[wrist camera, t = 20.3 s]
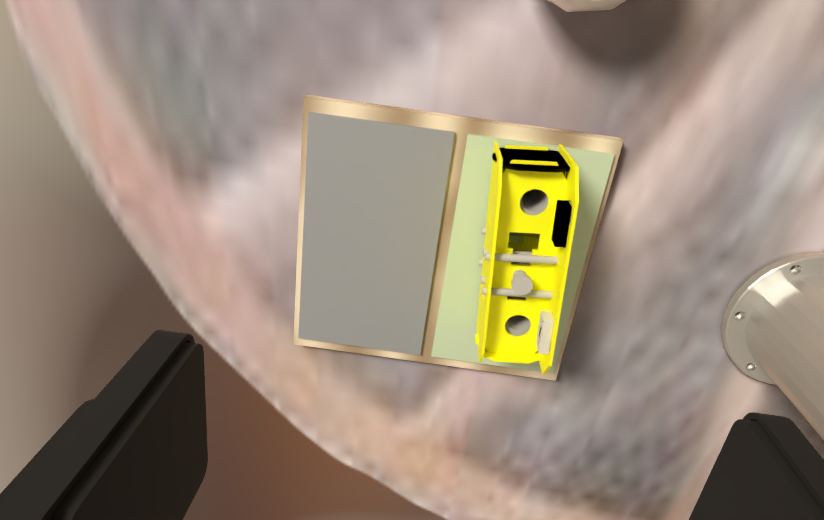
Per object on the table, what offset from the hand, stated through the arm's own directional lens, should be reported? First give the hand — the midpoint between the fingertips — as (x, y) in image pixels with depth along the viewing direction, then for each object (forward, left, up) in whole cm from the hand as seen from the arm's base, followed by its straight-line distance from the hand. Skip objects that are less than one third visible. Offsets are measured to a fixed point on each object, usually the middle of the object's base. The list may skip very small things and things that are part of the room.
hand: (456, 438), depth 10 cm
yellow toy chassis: (-7, +10, -35) cm, 37 cm away
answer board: (-1, +12, -36) cm, 38 cm away
